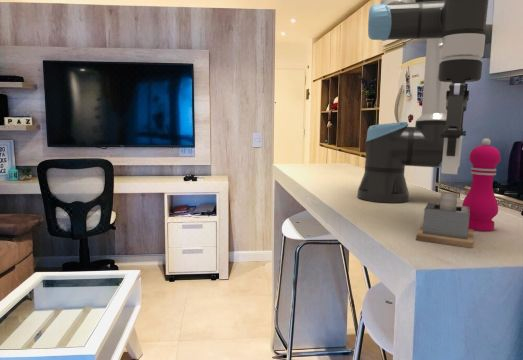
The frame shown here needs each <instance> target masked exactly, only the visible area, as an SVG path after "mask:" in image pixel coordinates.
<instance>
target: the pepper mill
mask: <svg viewBox="0 0 523 360" xmlns="http://www.w3.org/2000/svg"><path fill="white" fill-rule="evenodd" d="M491 144H492V141H491V139H489V138H487V137H486V138H483V139H482V140H481V145H478V146H475V147H474V148H473V149H471V151H470V153H469V159H468V160H469V161H470V163H471V164H472V166H471V168H470V169H471V170H470V174H472V182H471V185H470V189H469V190H468V192H467V194H466V196H465V197H464V199H463V200H462V201H463V202H462V205H461V206H466V207H470V215H469V226H468V229H473V231H478V232H492V231H493V230H494V229H495V221H494V220H493V219H494V218H495V217H496V216H497V215H498V214H499V204H498V201H497V198H496V196H495V191H494V188H493V183H494V181H493V180H494V176H497V168H496V167H497V165H498V164H500V162H501V153H500V151H499V150H498V149H497V148H496V147H494V146H491Z"/></svg>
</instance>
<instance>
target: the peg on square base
mask: <svg viewBox="0 0 523 360" xmlns="http://www.w3.org/2000/svg"><path fill="white" fill-rule="evenodd" d="M457 203H458V193H456V192H451V191H441V192H440V202H439V204H440V209H443V210H453V211H456V206H458V204H457ZM415 241H419V242H425V243H426V242H427V243H434V244H441V245H448V246H449V245H450V246H455V247H463V248H469V249H470V248H471V249H474V230H473V229H468V236H467V239H460V238H453V237H445V236H437V235H430V234H423V223H422V224H421V225H420V228H419V230H418V231H417V233H416V235H415Z"/></svg>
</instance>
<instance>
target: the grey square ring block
mask: <svg viewBox="0 0 523 360" xmlns="http://www.w3.org/2000/svg"><path fill="white" fill-rule="evenodd" d="M423 211H424V213H423V223H422V224H423V234H430V235H437V236H445V237H453V238H460V239H467V236H468V226H469V215H470V207H466V206H462V205H456V211H453V210H443V209H440V203H434V202H428V203H427V204H426V206H425V207H424V209H423Z"/></svg>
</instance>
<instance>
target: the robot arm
mask: <svg viewBox="0 0 523 360" xmlns="http://www.w3.org/2000/svg"><path fill="white" fill-rule="evenodd" d="M488 6H489V0H380V3H379V4H372V5H371V6H370V7H369V10H368V23H367V33H368V35H367V36H368V38H369V39H370V40H372V41H373V40H374V41H382V42H383V41H389V40H390V41H391V40H394V41H395V40H413V39H415V40H416V39H417V40H424V39H426V48H425V62H424V63H425V65H424V76H423V77H424V78H423V93H422V104H421V107H422V108H421V115H420V116H419V117H418V118H417V119H416V120H415V126H409V123H408V122H407V121H401V122H391V123H381V124H373V125H370V126H369V127H368V129H367V132H366V140H365V142H366V146H365V161H364V162H365V163H364V174H363V176H362V179H361V181H360V183H359V186H358V189H357V198H358V199H361V200H365V201H369V202H378V203H390V204H391V203H392V204H394V203H395V204H396V203H399V204H401V203H406V202H408V201H409V199H410V198H409V197H410V196H409V195H410V193H409V190H408V189H409V188H408V186H407V185H408V184H407V182H406V181H407V180H406V178H405V168H406V167H407V166H408V167H424V168H436V169H439V168H441V169H440V170H441V173H440V174H446V175H458V172H459V171H458V170H459V168H460V167H461V166H460V164H461V157H462V156H461V154H462V147H463V143H464V137H466V136H467V133H466V132H467V131H466V130H464V125H463V124H464V117H465V116H464V115H465V112H466V111H467V108H468V107H467V105H468V101H469V99H470V98H469V97H470V90H467V88H466V83H473V82H479V81H480V80H481V79H482V72H483V61H482V60H480V59H482V58H483V57H484V53H485V44H486V27H487V26H486V25H487V17H488V8H489V7H488Z"/></svg>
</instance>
